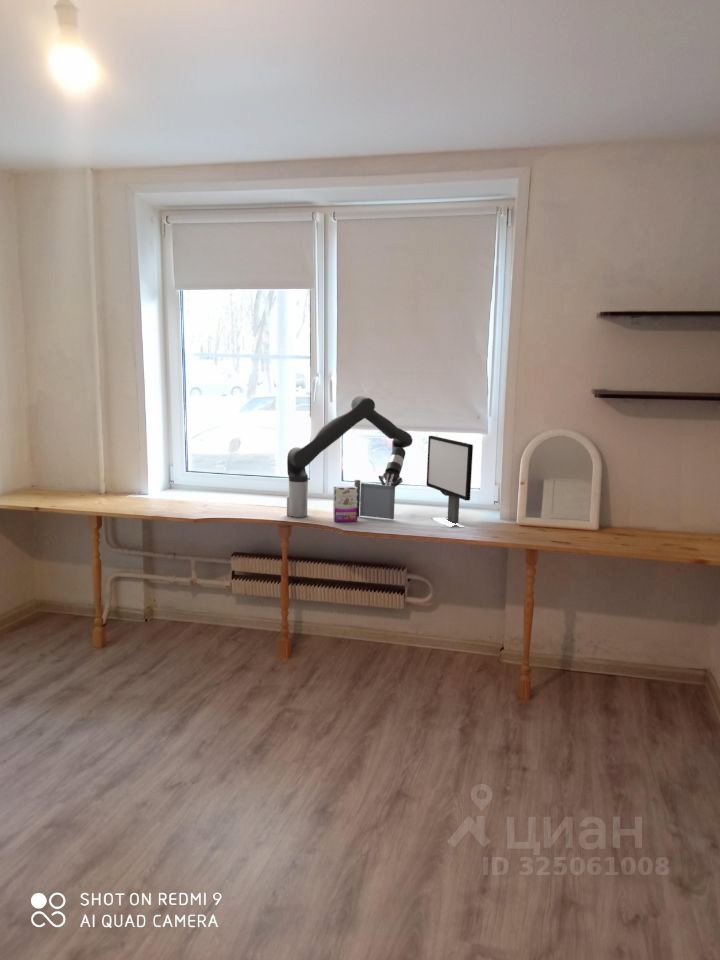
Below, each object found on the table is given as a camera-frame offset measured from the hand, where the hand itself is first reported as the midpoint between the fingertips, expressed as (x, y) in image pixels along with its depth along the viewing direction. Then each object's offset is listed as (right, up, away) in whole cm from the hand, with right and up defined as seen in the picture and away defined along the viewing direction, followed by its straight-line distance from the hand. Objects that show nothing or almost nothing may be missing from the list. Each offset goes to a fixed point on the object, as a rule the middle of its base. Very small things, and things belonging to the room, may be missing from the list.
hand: (386, 492), depth 346 cm
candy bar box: (-20, -13, -14) cm, 28 cm away
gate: (-5, -12, -7) cm, 14 cm away
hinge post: (-15, -12, -3) cm, 19 cm away
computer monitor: (+29, -14, -11) cm, 34 cm away
